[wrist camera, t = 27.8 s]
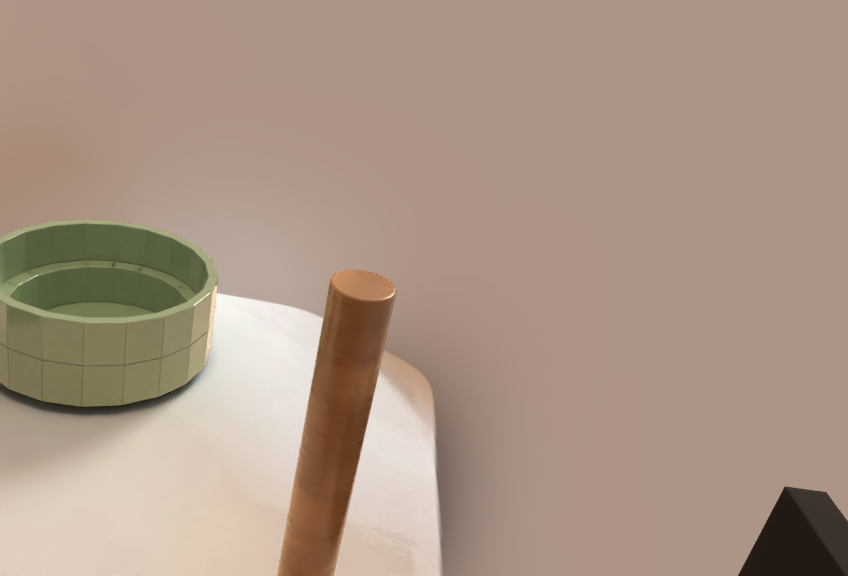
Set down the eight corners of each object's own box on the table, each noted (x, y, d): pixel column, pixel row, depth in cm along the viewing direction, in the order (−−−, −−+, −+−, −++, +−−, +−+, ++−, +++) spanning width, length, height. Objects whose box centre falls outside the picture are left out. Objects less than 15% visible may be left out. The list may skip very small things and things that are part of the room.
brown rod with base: (350, 606, 36) (433, 264, 28) (347, 708, 31) (444, 334, 24) (240, 594, 35) (294, 241, 28) (220, 696, 31) (278, 308, 23)
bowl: (224, 316, 56) (233, 240, 53) (183, 430, 44) (192, 339, 42) (30, 286, 54) (30, 205, 52) (-66, 396, 42) (-73, 298, 40)
